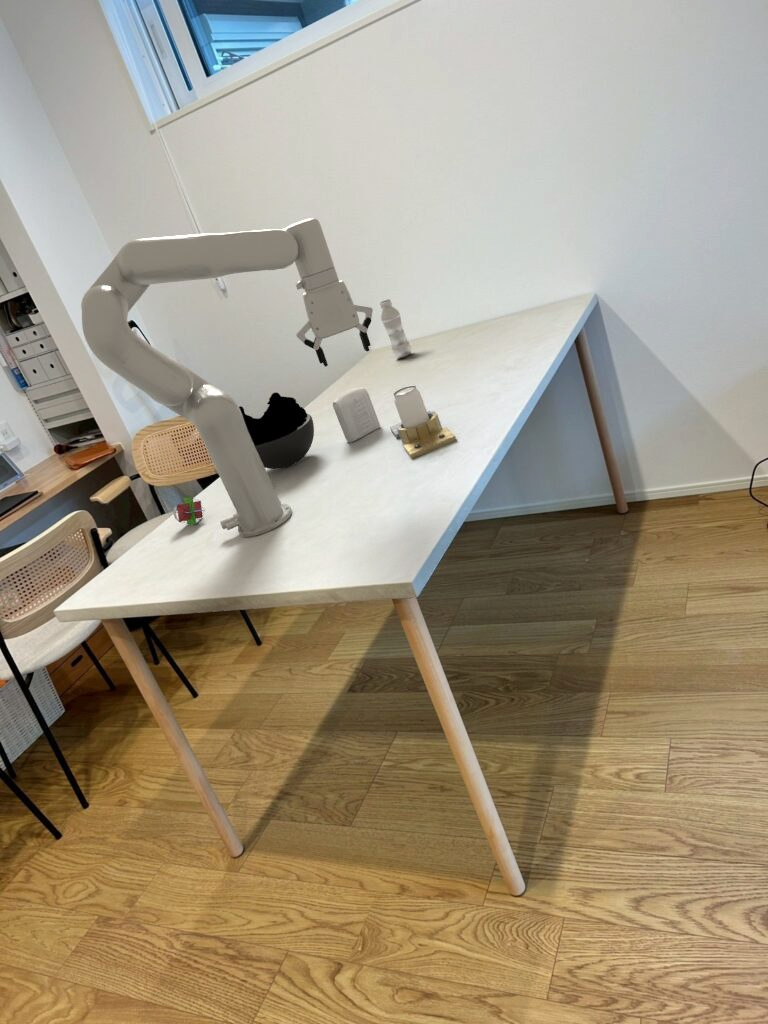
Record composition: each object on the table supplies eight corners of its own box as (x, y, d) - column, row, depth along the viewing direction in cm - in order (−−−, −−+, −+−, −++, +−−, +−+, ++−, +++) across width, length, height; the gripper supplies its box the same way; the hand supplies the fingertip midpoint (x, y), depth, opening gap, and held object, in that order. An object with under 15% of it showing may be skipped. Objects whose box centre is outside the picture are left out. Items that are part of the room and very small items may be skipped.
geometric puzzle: (200, 503, 197) (174, 491, 192) (215, 503, 192) (189, 491, 187) (190, 530, 195) (163, 518, 190) (206, 531, 190) (179, 519, 185)
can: (404, 443, 189) (387, 398, 184) (415, 432, 193) (399, 387, 189) (427, 440, 185) (410, 393, 180) (438, 428, 190) (422, 382, 185)
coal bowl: (340, 444, 207) (313, 378, 200) (293, 480, 194) (263, 411, 187) (287, 450, 220) (260, 388, 213) (240, 485, 206) (209, 420, 199)
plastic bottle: (392, 360, 274) (372, 305, 267) (408, 352, 276) (389, 297, 268) (400, 361, 268) (379, 305, 261) (416, 353, 270) (397, 297, 263)
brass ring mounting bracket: (411, 459, 177) (405, 443, 176) (391, 431, 201) (386, 417, 200) (456, 440, 177) (451, 424, 176) (431, 414, 201) (426, 400, 200)
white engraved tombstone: (375, 425, 211) (358, 382, 207) (383, 426, 208) (367, 383, 203) (344, 442, 207) (327, 399, 203) (352, 443, 204) (334, 400, 199)
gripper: (282, 295, 162) (311, 374, 168) (361, 267, 163) (386, 346, 169) (280, 293, 169) (307, 368, 175) (356, 266, 170) (380, 342, 176)
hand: (346, 357), depth 172 cm, fingers open, 9 cm apart
